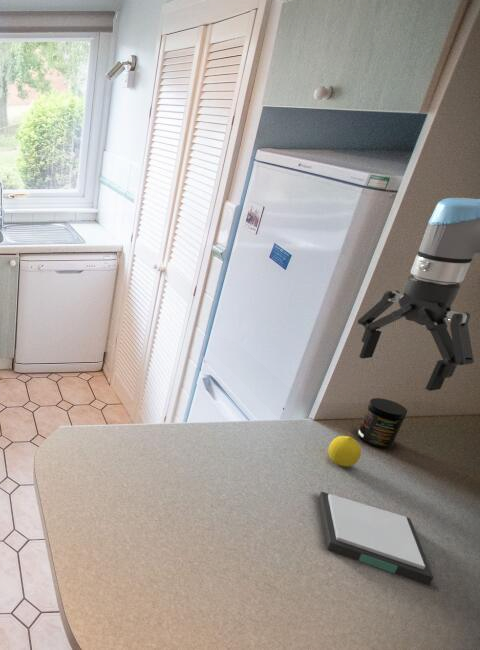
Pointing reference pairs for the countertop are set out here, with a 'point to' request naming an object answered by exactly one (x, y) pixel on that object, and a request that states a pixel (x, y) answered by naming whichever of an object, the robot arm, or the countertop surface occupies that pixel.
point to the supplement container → (381, 423)
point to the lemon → (344, 451)
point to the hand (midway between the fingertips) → (396, 372)
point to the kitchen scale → (373, 537)
